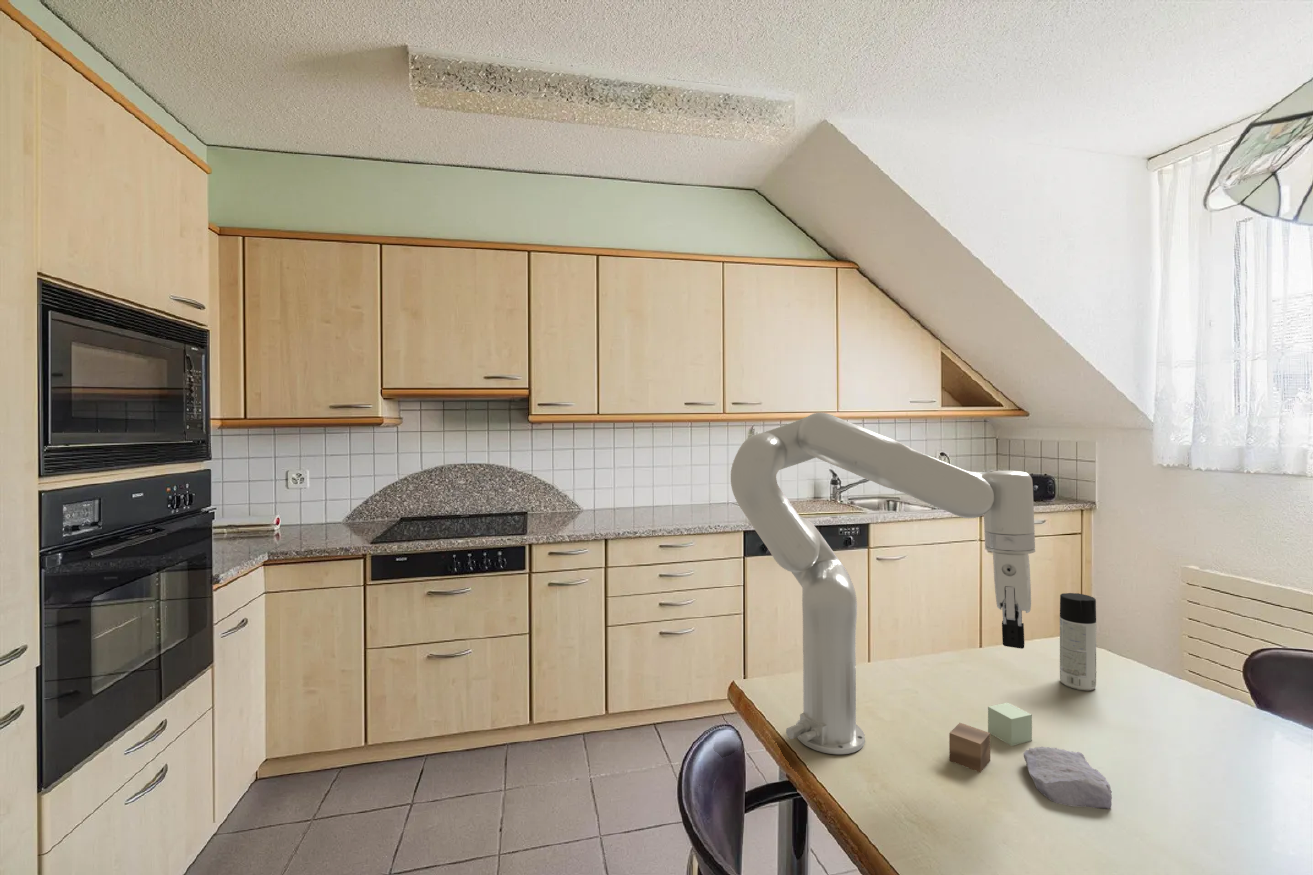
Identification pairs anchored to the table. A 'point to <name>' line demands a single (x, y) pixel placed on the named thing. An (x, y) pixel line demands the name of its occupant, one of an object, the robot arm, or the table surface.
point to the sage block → (1010, 723)
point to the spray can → (1078, 641)
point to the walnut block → (969, 747)
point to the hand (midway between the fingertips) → (1013, 645)
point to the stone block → (1067, 778)
